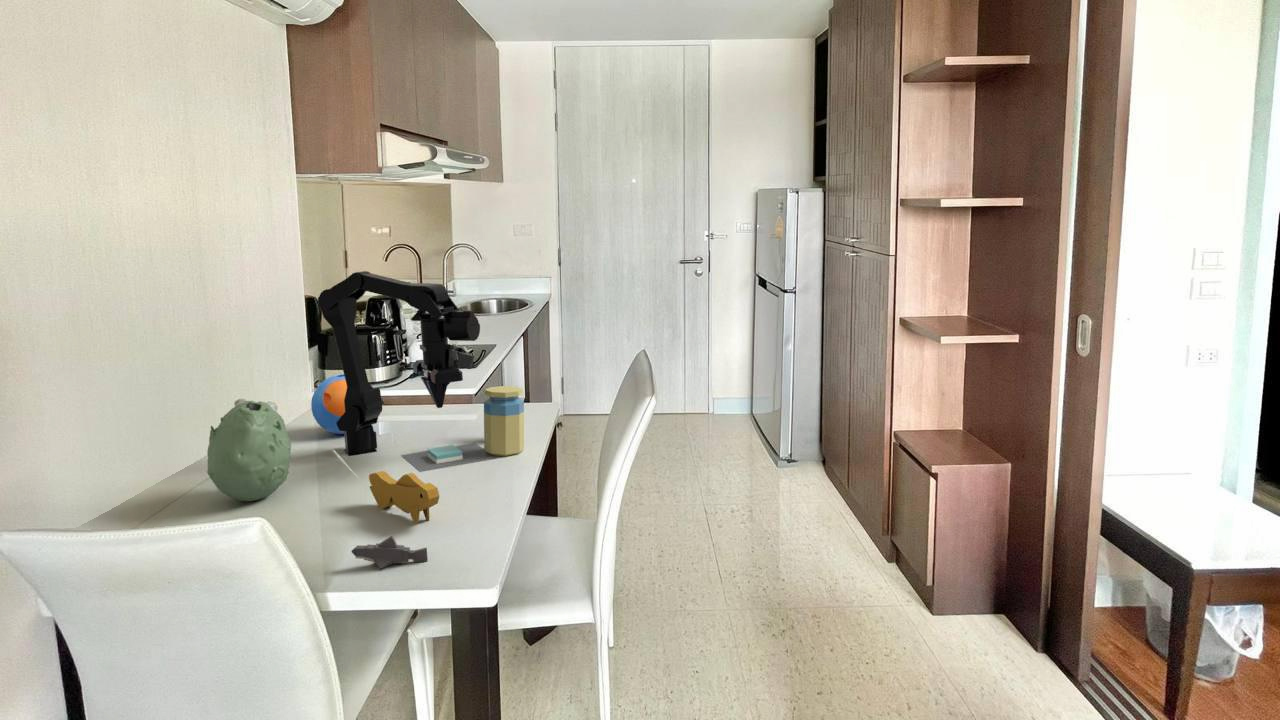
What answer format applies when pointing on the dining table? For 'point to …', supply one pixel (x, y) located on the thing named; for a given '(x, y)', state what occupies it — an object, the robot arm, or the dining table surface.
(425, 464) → the mat
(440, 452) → the tile
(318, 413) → the treat dispenser ball
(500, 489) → the dining table surface
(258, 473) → the green rounded lump
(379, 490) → the decorative fish
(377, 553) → the animal figurine
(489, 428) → the jar
